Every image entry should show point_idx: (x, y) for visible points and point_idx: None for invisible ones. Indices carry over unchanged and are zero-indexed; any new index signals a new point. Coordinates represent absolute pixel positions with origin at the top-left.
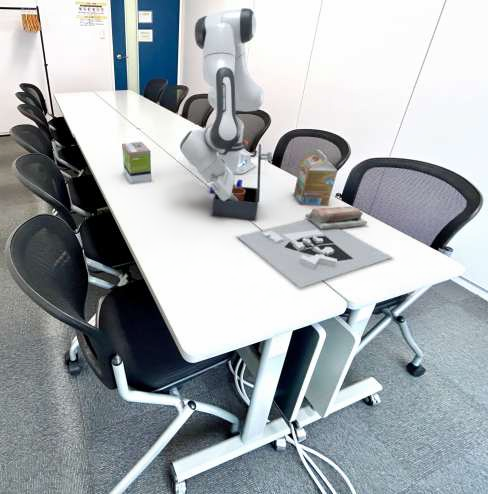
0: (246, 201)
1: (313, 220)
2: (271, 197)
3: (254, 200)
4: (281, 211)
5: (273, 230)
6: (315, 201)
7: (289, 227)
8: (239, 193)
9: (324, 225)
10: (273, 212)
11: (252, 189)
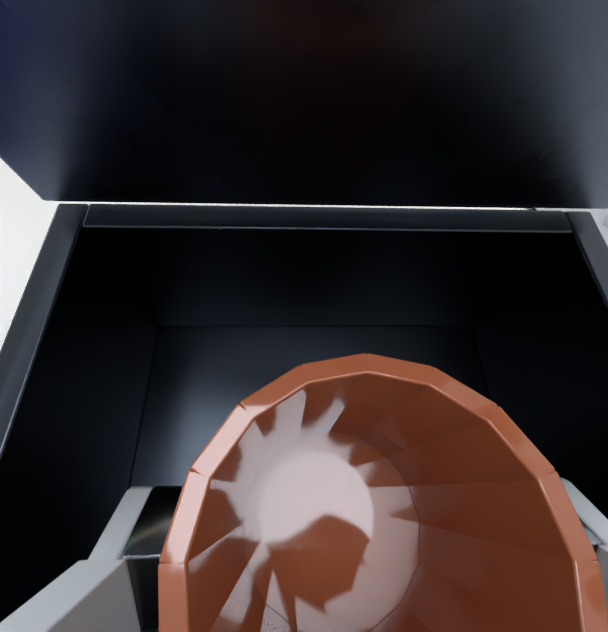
0: (142, 395)
1: None
2: (3, 208)
3: (179, 307)
4: None
5: (565, 211)
6: None
7: None
8: (232, 486)
9: None
10: (284, 205)
11: (76, 279)
